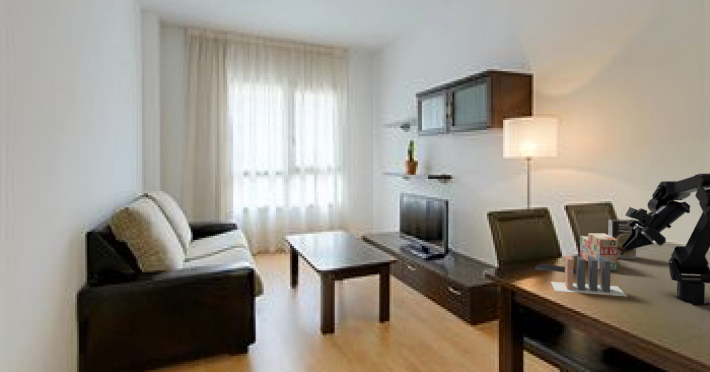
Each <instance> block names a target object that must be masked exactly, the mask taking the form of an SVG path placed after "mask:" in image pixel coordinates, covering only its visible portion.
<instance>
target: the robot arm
mask: <svg viewBox="0 0 710 372" xmlns="http://www.w3.org/2000/svg"><path fill="white" fill-rule="evenodd" d="M692 193H695V195H694V196H695V197H696V199H697V201H698V205H699V206H700V208H701V211H702V212H701V215H700V216H699V219H698V221H697V222H696V224H695V227H694V228H693V231H692V232H691V235H690V236H689V238H688V241H687V243H686V244H685V245H684V246H680V245H678V246H675V247H674V248H673V252H672V253H671V254H670V255H671V257H670V259H669V260H668V267H669V268H668V269H669V275H670V279H671V281H675V282H677V283H676V295H672V297H673V298H675V299H677V300H679V301H682V302H683V303H686V304H691V305H710V301H707V300H705V298H706V297H705V296H706V294H705V293H706V284H710V265H709V261H708V259H707V257H706V255H707V254H708V252H709V250H710V172H709V173H697V174H695V175H693V176H690V177H687V178H683V179H680V180H667V181H666V180H665V181H663V180H661V181H660V183H659V184H658V185H657V187H656V188H655V190H654V192H653V193H652V198H651V199H649V200H648V202H647V208H648V210H649V212H648V210H647V209H644V208H642V207H640V208H639V209H637V208H634V207H631V206H630V207H628V210H627V211H626V213H625V215H624V216H625V217H629V218H630V219H629V220H630V221H629V222H627V224H628V225H629V226H630V234H629V236H628V237H627V239H626V240H625V242H624V243H623V245H622V247H623V248H624V249H625V250H631V249H635V248H636V249H638V248H642V247H647V246H651V245H654V242H655V244H656V245H658V246H660V247H662V245H664V244H665V243H666V242H667V238H666V237H665V236H664V235H663V234H662V232H663V231H664V230H665V229H671V227H672V224H673V223H674V222H676V221H677V220H679V218H681V217H682V216H683V215H684V214H690V212H691V209H690V208H691V205H690V204H689V203H687V201H683V200H685V199H687V198H689V197H691V194H692ZM680 201H681V202H680Z"/></svg>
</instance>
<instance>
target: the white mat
mask: <svg viewBox="0 0 710 372" xmlns="http://www.w3.org/2000/svg"><path fill="white" fill-rule="evenodd" d="M550 283H551V286H552V288H553V290H554V292H562V293H577V294H590V295H605V296H616V297H617V296H618V297H627V294H625V292H624V291H623V290H622V289H621V288H620V287H619V286H617V285H610V293H609V292H604V291H603V290H602V289H601V288H600V284H598V286H597V292H596V291H591V290H590V288H589V287H588V283H585V291H582V290H579V289H578V287H577V286H576V283H575V282H573V290H569V289H567V288H566V286H565V282H561V281H560V282H559V281H550Z"/></svg>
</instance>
